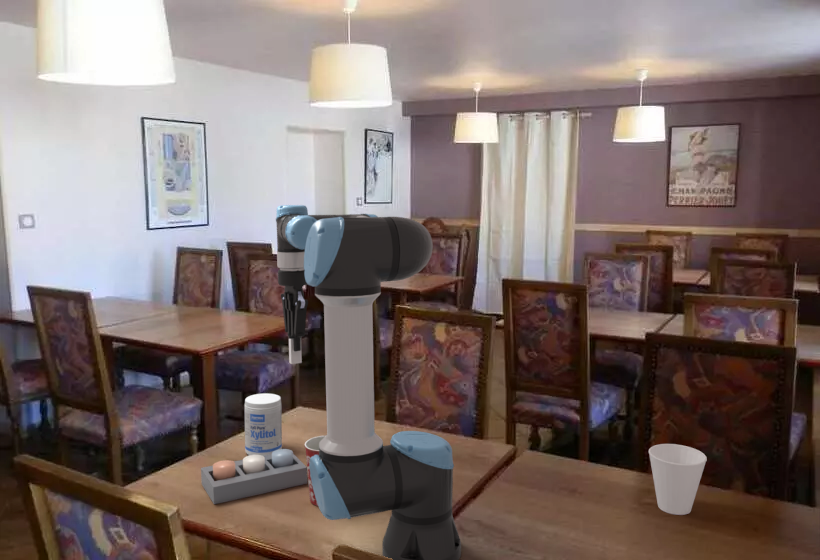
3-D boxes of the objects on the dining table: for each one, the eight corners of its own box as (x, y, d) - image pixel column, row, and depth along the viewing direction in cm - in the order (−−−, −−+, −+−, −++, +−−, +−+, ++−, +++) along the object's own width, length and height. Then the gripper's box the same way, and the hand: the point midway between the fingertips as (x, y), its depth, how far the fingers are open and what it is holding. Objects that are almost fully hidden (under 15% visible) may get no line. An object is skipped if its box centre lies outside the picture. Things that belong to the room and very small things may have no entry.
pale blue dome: (296, 468, 165) (295, 454, 165) (276, 472, 163) (275, 458, 162) (289, 461, 169) (288, 447, 169) (269, 465, 167) (269, 451, 167)
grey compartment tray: (307, 483, 163) (307, 467, 163) (213, 504, 153) (213, 487, 152) (290, 465, 174) (289, 450, 173) (201, 483, 163) (200, 467, 162)
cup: (667, 523, 144) (670, 467, 142) (635, 498, 155) (637, 446, 154) (715, 516, 147) (719, 461, 145) (680, 492, 159) (683, 441, 157)
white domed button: (267, 474, 162) (267, 460, 161) (246, 479, 159) (246, 464, 159) (261, 467, 166) (260, 453, 166) (240, 471, 164) (240, 457, 163)
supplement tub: (250, 461, 176) (248, 406, 174) (241, 449, 184) (239, 396, 182) (287, 454, 181) (285, 400, 179) (276, 442, 189) (275, 390, 187)
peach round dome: (238, 480, 158) (237, 466, 158) (216, 485, 156) (215, 470, 155) (232, 472, 163) (231, 458, 162) (211, 477, 160) (210, 462, 160)
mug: (334, 512, 149) (333, 452, 147) (298, 504, 152) (296, 446, 151) (360, 488, 160) (359, 433, 159) (326, 482, 164) (325, 427, 162)
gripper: (317, 270, 164) (319, 366, 167) (298, 265, 175) (300, 355, 178) (287, 272, 160) (290, 371, 163) (270, 266, 171) (272, 358, 175)
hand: (295, 362), depth 171 cm, fingers closed
